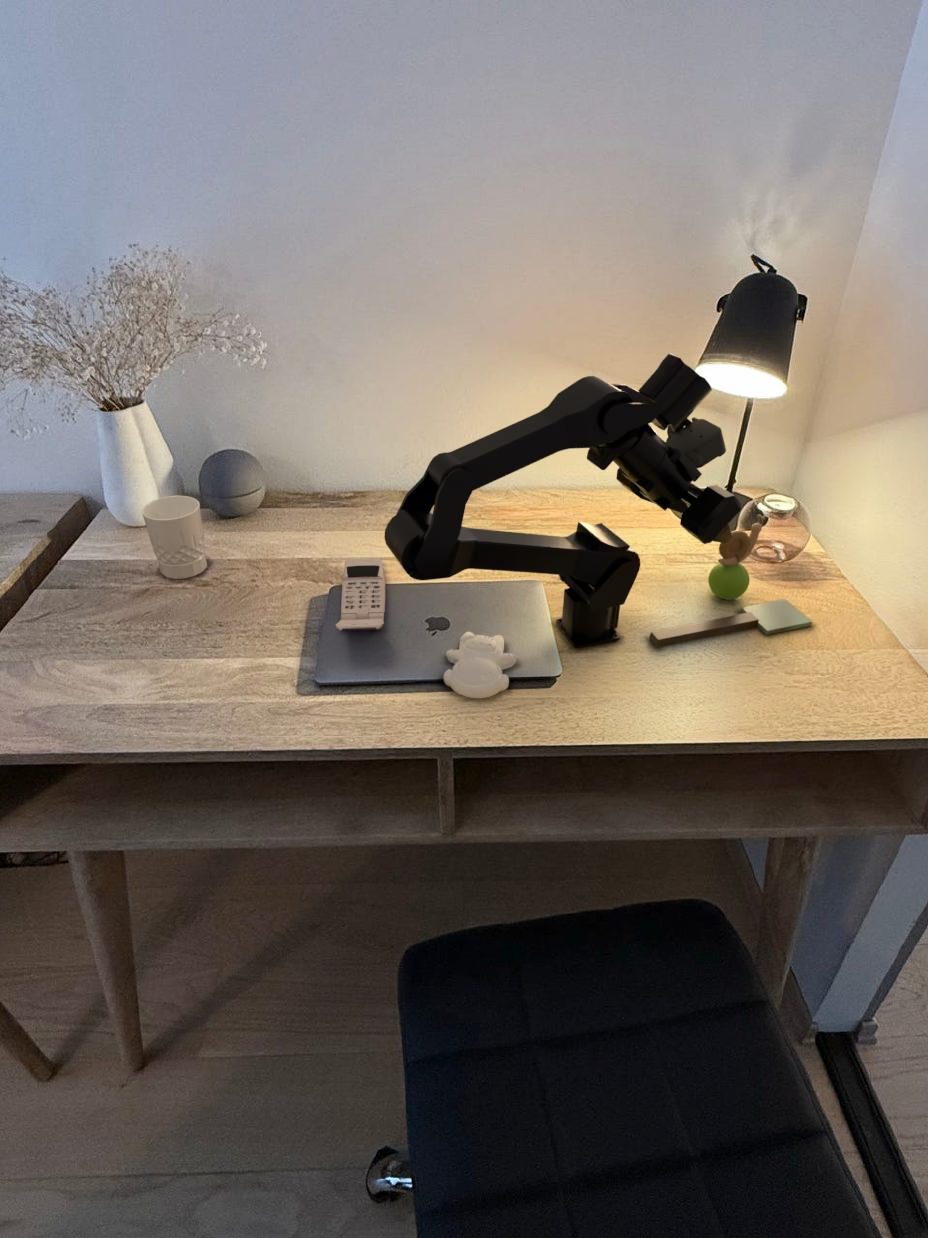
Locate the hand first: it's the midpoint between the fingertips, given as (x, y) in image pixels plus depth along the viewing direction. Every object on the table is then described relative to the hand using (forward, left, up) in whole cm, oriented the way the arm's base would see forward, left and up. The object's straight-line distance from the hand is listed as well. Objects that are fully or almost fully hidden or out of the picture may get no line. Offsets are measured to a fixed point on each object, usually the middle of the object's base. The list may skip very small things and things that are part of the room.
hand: (706, 524), depth 107 cm
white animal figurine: (-33, -4, -13) cm, 35 cm away
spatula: (+1, -6, -13) cm, 14 cm away
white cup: (-67, +33, -13) cm, 75 cm away
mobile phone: (-44, +13, -13) cm, 47 cm away
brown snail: (+6, +1, -13) cm, 14 cm away
